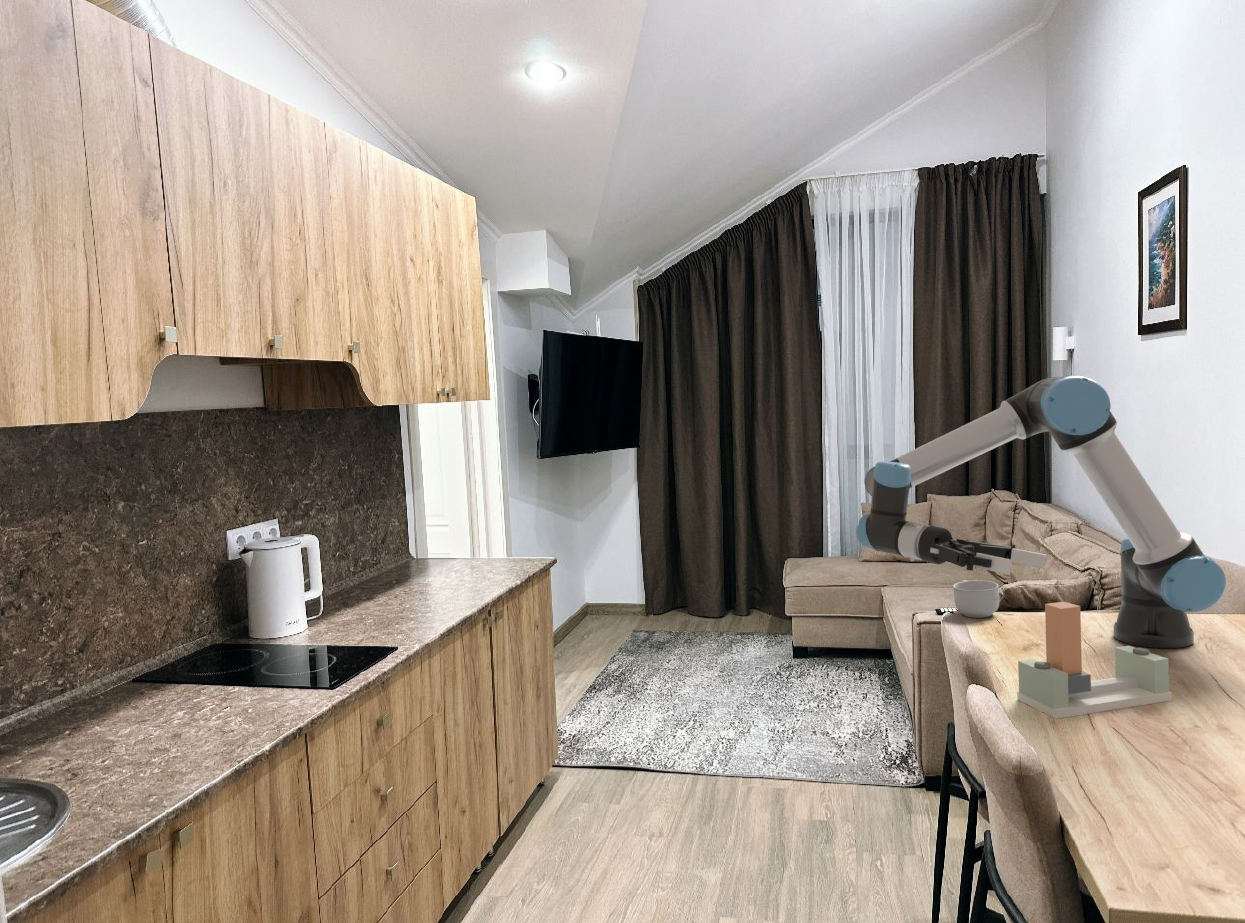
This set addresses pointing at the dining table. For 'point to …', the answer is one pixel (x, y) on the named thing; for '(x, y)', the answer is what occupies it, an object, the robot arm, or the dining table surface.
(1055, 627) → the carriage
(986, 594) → the teacup
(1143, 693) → the rail bed
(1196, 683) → the dining table surface
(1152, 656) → the end cabinets
